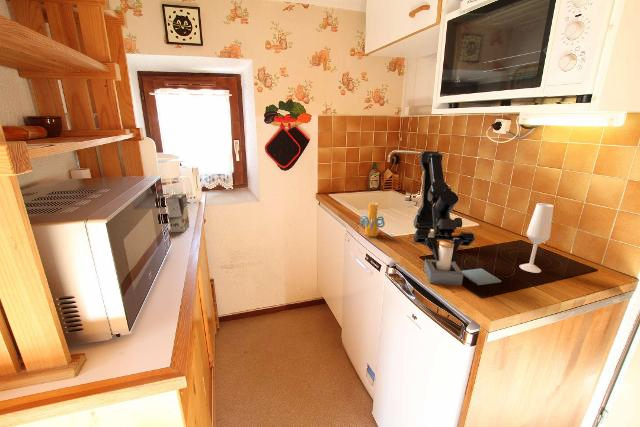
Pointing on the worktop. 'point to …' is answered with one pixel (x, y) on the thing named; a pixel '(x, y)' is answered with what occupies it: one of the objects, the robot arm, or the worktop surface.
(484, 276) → the pad
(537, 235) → the champagne flute
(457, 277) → the frame
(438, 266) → the plug
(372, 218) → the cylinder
